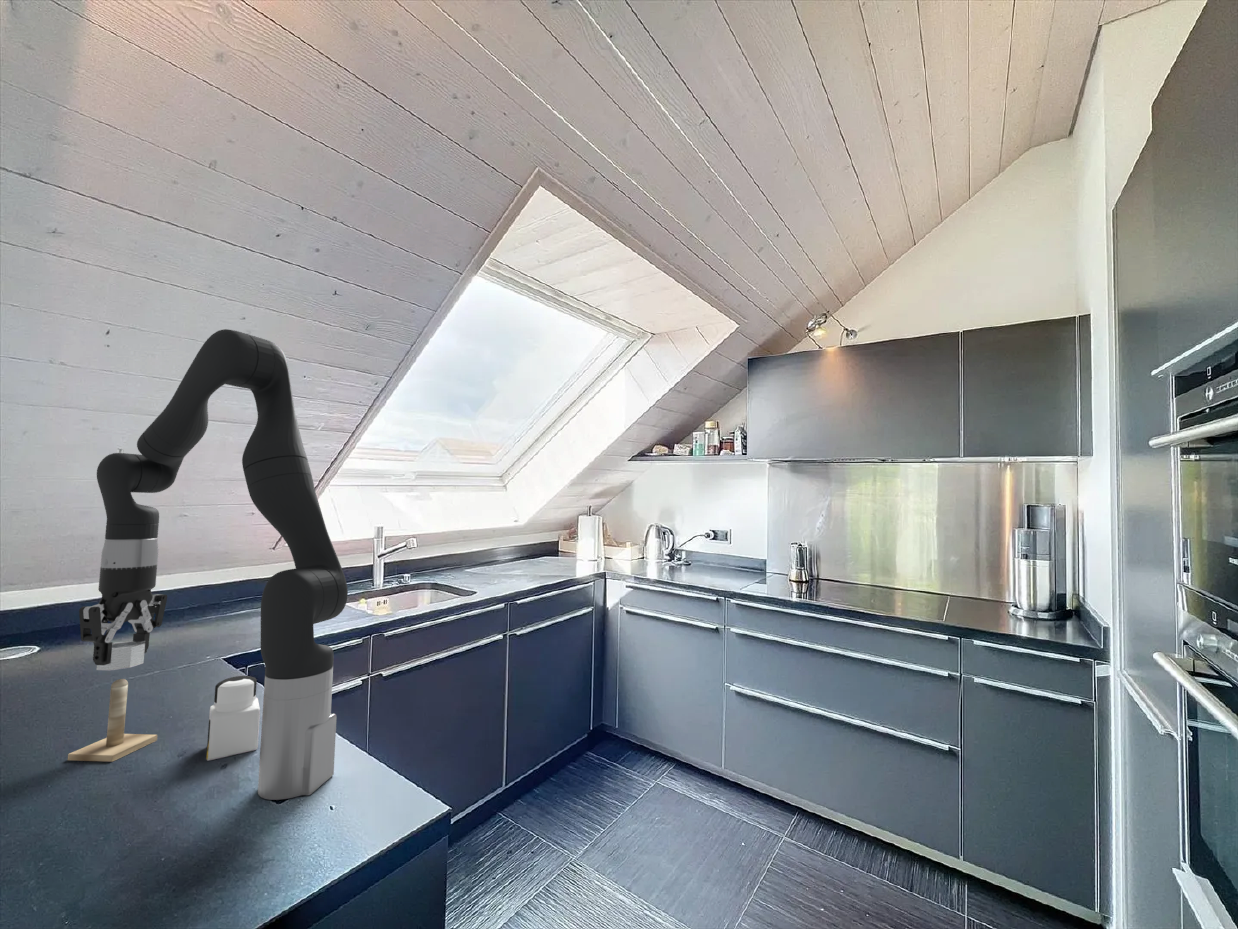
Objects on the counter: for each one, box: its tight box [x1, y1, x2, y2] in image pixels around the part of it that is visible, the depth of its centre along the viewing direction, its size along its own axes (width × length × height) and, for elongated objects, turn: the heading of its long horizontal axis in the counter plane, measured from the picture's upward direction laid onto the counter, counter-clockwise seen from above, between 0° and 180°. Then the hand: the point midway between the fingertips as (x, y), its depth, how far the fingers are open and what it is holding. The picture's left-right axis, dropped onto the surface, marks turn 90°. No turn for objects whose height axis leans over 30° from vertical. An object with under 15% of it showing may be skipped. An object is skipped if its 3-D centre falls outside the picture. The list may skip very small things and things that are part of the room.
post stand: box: [67, 678, 158, 762], centre depth 92 cm, size 8×8×12 cm
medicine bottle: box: [206, 675, 261, 761], centre depth 93 cm, size 7×7×12 cm
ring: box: [96, 639, 145, 671], centre depth 93 cm, size 6×6×4 cm
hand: (121, 658), depth 93 cm, fingers closed on ring, 6 cm apart
